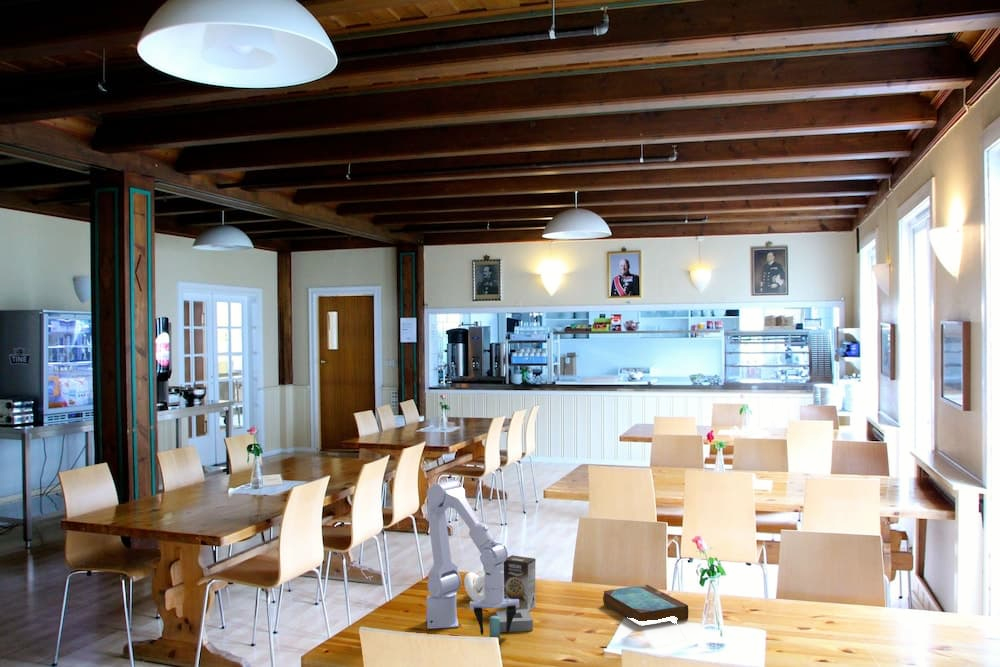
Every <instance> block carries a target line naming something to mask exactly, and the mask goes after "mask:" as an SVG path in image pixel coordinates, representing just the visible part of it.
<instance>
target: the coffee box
mask: <svg viewBox="0 0 1000 667" xmlns="http://www.w3.org/2000/svg"><path fill="white" fill-rule="evenodd" d="M536 562H537V561H536V558H533V557H526V556H520V555H513V554H512V555H509V556H507V559H506V561H505V562H503V563H504V599H519V608H516V610H522V609H528V611H529V612H531V611H532V610H534V609H535V608H536V603H537V602H536ZM534 607H535V608H534ZM533 608H534V609H533ZM530 610H531V611H530Z"/></svg>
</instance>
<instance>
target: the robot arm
mask: <svg viewBox="0 0 1000 667" xmlns="http://www.w3.org/2000/svg"><path fill="white" fill-rule="evenodd" d="M426 497H427V504H426V511H427V512H426V513H427V517H428V519H427V520H428V526H429V534H430V536H429V537H430V544H431V551H432V560H433V565H432V567H431V568H430V570H429V571H428V574H427V575H428V579H427V589H428V592H429V594H430V595H427V596H426V614H425V621H426V624H427V625H426V626H427V630H428V629H429V630H430V629H431V630H432V629H449V628H459V627H460V626H459V620H458V616H457V612H458V611H457V594H458V593H459V589H460V588H461V586H462V577H461V575H460V572H459V570H458V569H459V568H458V566H457V565H456V564H455V563H453V562H452V555H451V548H450V547H451V546H450V540H449V532H448V524H447V523H448V522H447V516H446V511H447V510H448V509H449V508H451V509H454V510H455V511H456V513H457V514H458V515H459V517H460V518H461V519H462V520H463V522H464V523H465V525H466V526H467V527H468V528H469V531H468V535H469V537H470V538H471V540H472V542H473V543H474V544H475V546H476V548H477V550H478V551H479V552H480V555H479V559H480V562H481V564H482V567H483V568H482V570H484V572H485V599H484V600H478V601H473V600H471V601H469V610H470V611H473V613H474V616H475V617H476V620H477V622H478V626H479V631H480V632H479V633H480V635H483V636H484V613H483V610H484V609H485V610H486V609H500V608H501V609H502V608H503V609H505V608H506V609H505V610H506V617H507V620H506V631H507V632H506V634H510V633H511V632H510V626H511V623H512V620H513V617H514V615H515V614H516V608H519V599H504V562H505V561H506V559H507V557H509V556H508V555H509V554H508V550H507V547H506V546H505V544H503V543H501V542H499V540H496V538H495V537H494V536H493V534H492V533H491V530H489V529H490V528H489V526H488V525H486V523H483V522H481V521H479V519H478V518H477V515H476V514H475V512H474V510H473V509H472V507H471V505H470V503H469V501H468V500H467V498H466V490H465V488H464V487H463V485H462V483H461V482H460V481H459V480H457V479H450V480H448V481H442V482H435V483H433V484H431V485H430V487H428V489H427V490H426Z"/></svg>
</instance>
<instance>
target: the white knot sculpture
mask: <svg viewBox="0 0 1000 667" xmlns="http://www.w3.org/2000/svg"><path fill="white" fill-rule="evenodd" d="M463 583H464V589H465V592H466V593H467V596H468V597H469V598H470V599H471V601H478V600H484V599H485V572H484V570H483V569H481V570H479V571H478V572H476V573H475V572H471V571H470V572H468V573H466V575H465V577H464V579H463Z"/></svg>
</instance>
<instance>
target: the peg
mask: <svg viewBox="0 0 1000 667" xmlns="http://www.w3.org/2000/svg"><path fill="white" fill-rule="evenodd" d="M490 637H498V638H499V640H500V639H501V632H500V617H498V616H496V615H491V616H490V617H489V638H490Z"/></svg>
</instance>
